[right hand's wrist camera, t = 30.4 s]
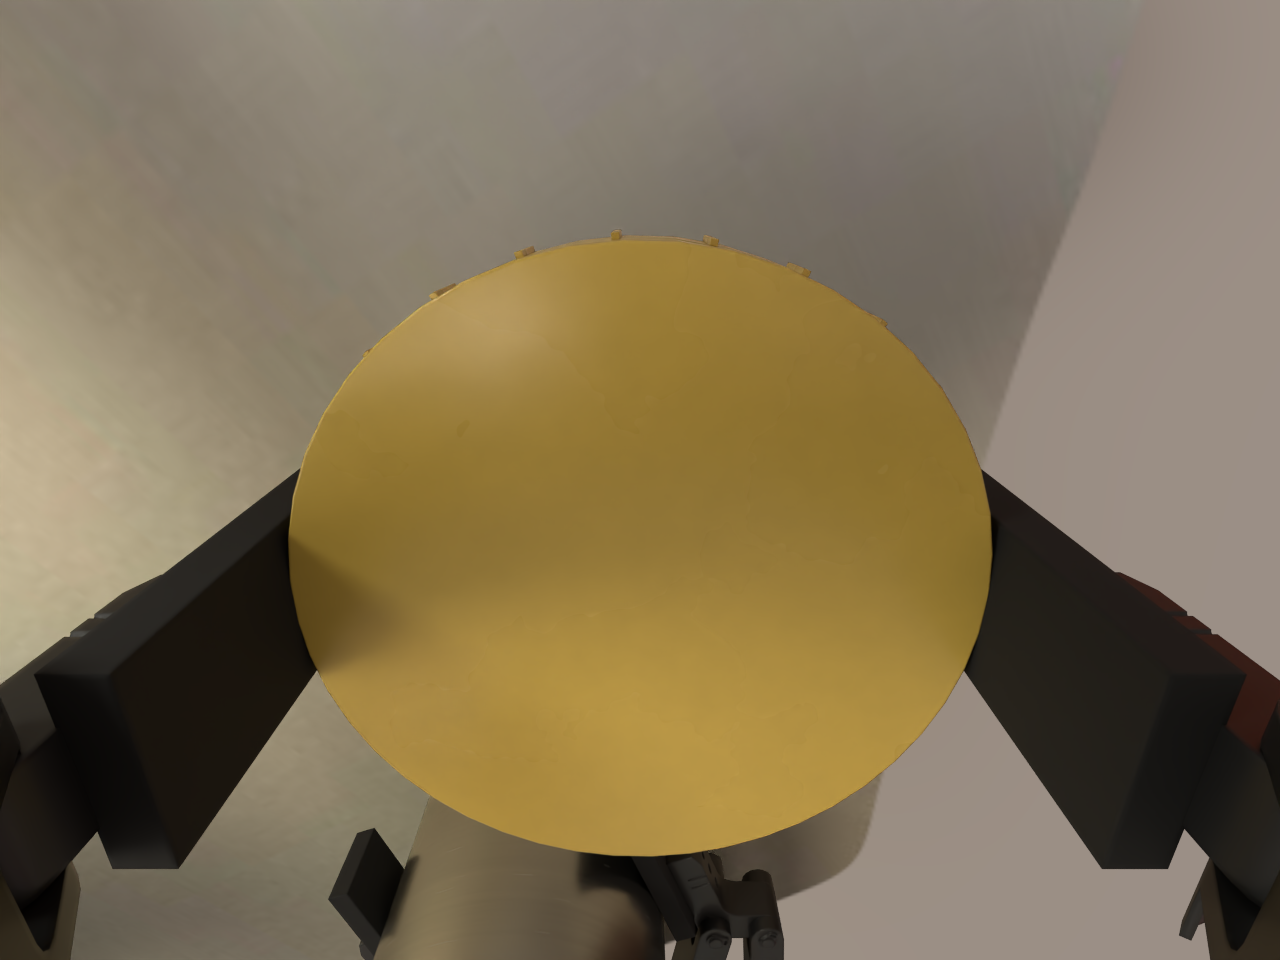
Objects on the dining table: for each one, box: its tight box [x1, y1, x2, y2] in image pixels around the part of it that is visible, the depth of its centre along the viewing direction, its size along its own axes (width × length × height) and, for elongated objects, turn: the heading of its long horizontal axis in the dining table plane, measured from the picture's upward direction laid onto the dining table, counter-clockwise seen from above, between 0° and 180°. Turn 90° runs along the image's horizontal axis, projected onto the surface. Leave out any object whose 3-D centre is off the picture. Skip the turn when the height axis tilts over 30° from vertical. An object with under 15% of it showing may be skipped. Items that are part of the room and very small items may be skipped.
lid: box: [288, 230, 993, 856], centre depth 11 cm, size 11×11×2 cm
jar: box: [373, 796, 665, 960], centre depth 25 cm, size 10×10×15 cm
